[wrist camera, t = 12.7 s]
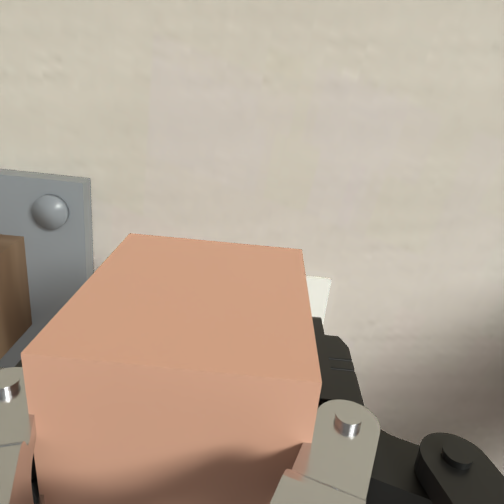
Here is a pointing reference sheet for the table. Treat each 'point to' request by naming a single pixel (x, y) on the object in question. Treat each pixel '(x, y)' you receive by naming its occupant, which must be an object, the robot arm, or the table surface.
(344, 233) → the table surface
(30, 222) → the plate
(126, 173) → the table surface
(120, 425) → the brick terracotta
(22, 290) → the brick walnut
